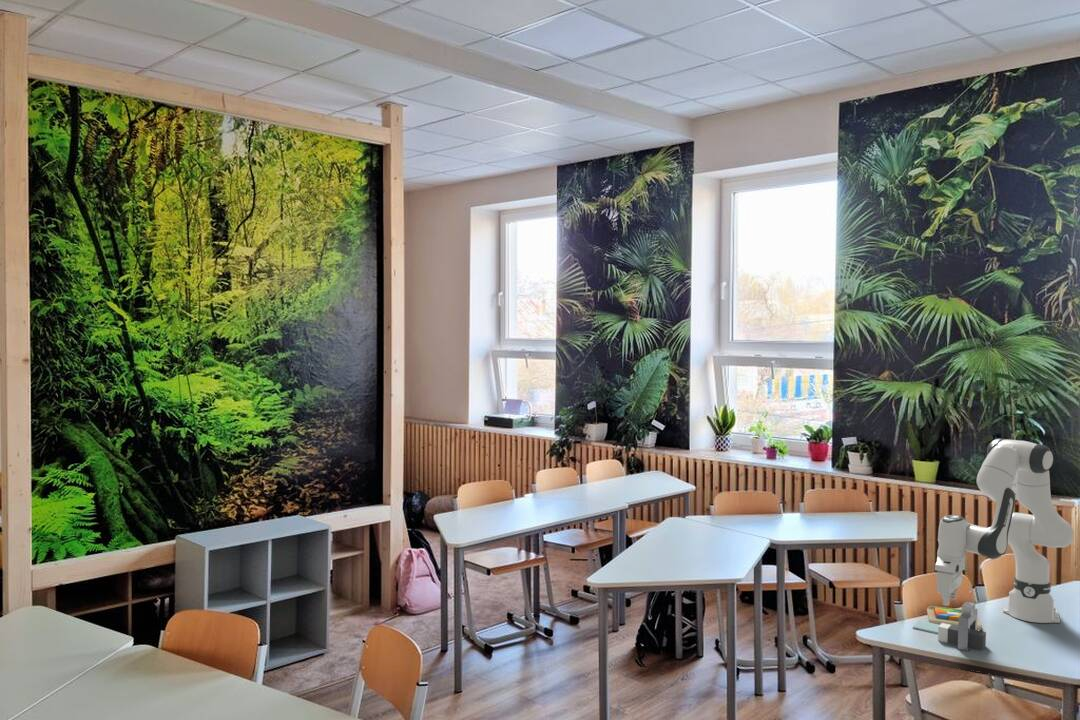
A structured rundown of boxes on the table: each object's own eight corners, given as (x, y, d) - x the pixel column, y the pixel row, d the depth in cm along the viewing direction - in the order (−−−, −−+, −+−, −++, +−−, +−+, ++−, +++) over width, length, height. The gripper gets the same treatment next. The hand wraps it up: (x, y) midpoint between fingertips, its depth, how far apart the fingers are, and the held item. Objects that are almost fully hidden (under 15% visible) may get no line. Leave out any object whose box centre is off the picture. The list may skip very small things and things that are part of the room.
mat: (919, 622, 315) (919, 620, 315) (972, 633, 304) (972, 631, 304) (912, 628, 308) (912, 626, 308) (967, 640, 297) (967, 638, 296)
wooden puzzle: (976, 616, 324) (976, 607, 324) (982, 632, 306) (982, 623, 306) (926, 610, 330) (926, 601, 330) (929, 625, 313) (929, 616, 313)
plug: (941, 636, 300) (941, 622, 300) (985, 646, 291) (985, 632, 291) (938, 640, 296) (938, 626, 296) (982, 650, 287) (983, 636, 287)
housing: (967, 638, 299) (968, 598, 298) (976, 640, 297) (977, 600, 296) (957, 649, 288) (958, 608, 287) (967, 651, 286) (968, 610, 286)
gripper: (948, 555, 305) (947, 593, 306) (933, 566, 289) (932, 606, 290) (967, 558, 301) (966, 597, 302) (953, 569, 285) (952, 610, 286)
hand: (949, 601), depth 295 cm, fingers open, 8 cm apart
